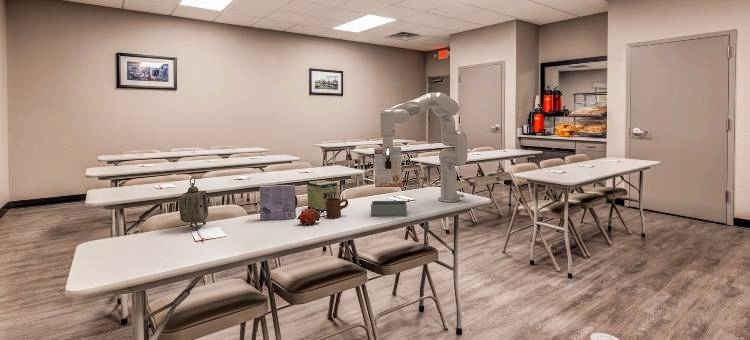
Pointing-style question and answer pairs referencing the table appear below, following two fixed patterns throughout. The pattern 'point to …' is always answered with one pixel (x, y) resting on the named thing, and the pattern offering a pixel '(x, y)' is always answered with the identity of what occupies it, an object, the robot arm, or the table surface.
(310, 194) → the protein box
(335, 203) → the mug
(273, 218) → the cake pan box
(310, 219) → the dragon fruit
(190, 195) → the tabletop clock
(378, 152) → the cracker box
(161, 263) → the table surface
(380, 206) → the tray
